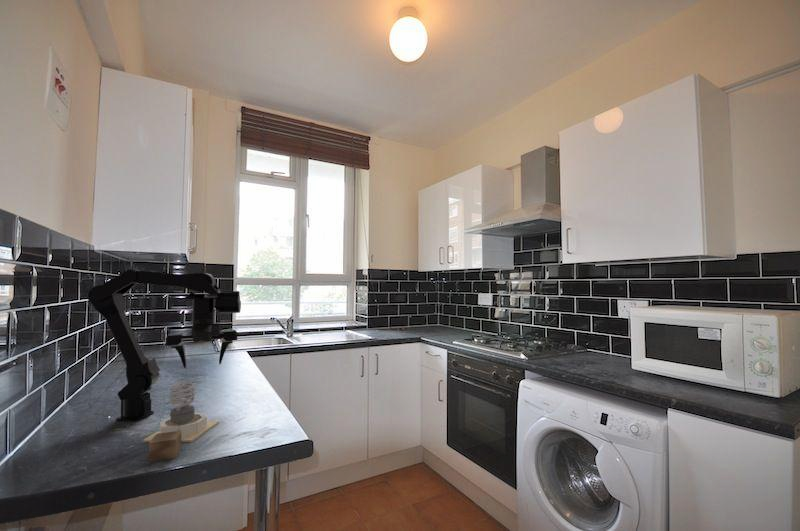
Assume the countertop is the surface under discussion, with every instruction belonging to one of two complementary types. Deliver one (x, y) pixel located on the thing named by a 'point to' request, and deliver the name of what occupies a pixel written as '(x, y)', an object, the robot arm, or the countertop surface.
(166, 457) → the walnut block
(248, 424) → the countertop surface
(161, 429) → the socket
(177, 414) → the light bulb
